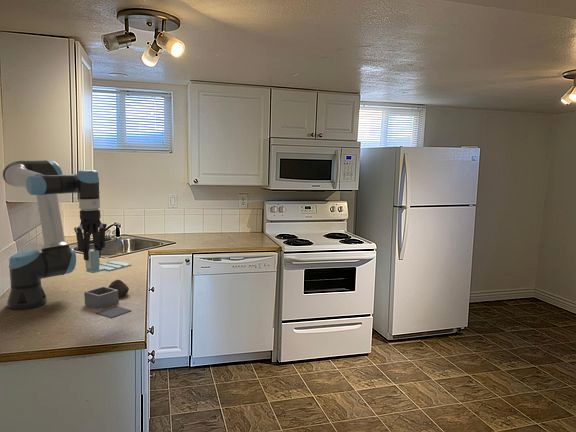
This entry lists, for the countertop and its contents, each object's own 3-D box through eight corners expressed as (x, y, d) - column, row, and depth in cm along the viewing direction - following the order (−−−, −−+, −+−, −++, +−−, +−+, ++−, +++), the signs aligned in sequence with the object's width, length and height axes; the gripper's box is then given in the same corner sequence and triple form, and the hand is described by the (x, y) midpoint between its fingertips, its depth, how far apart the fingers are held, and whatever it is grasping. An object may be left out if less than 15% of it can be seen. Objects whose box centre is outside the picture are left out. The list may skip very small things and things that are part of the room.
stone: (131, 302, 215) (130, 284, 220) (127, 294, 208) (126, 275, 213) (110, 306, 213) (109, 288, 218) (105, 298, 206) (105, 279, 212)
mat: (95, 313, 189) (95, 312, 189) (115, 306, 197) (115, 305, 197) (111, 318, 184) (111, 317, 184) (131, 311, 192) (131, 310, 192)
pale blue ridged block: (81, 270, 182) (80, 249, 181) (114, 262, 195) (113, 242, 194) (98, 274, 176) (97, 252, 175) (131, 266, 190) (130, 245, 189)
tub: (84, 304, 199) (84, 292, 198) (104, 298, 207) (103, 286, 206) (99, 309, 194) (98, 296, 193) (118, 302, 202) (118, 290, 202)
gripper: (77, 212, 168) (80, 272, 171) (113, 208, 182) (115, 264, 185) (65, 210, 172) (68, 269, 175) (101, 206, 186) (103, 261, 189)
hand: (92, 266), depth 180 cm, fingers closed on pale blue ridged block, 3 cm apart
